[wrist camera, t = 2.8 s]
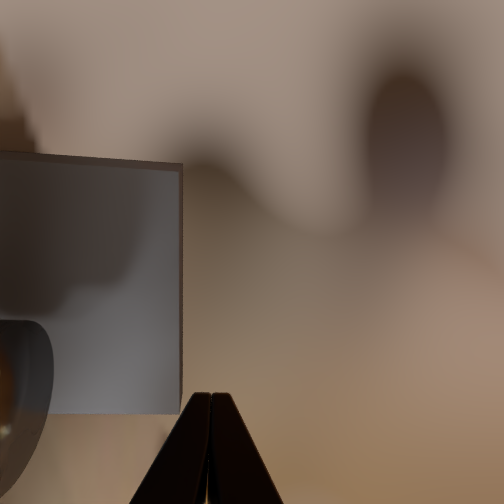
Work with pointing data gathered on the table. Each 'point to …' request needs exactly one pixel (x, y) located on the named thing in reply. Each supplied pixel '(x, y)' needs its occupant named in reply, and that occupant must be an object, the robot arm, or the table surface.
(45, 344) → the shaft
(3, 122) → the table surface
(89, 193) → the block
